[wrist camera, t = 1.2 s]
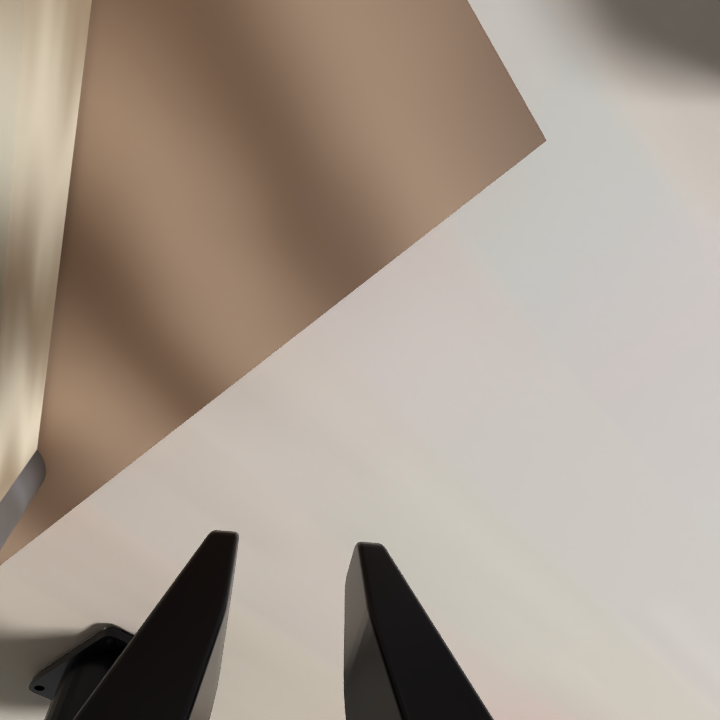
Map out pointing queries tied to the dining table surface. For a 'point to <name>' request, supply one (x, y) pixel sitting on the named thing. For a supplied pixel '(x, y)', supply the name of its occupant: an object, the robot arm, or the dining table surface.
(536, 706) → the dining table surface
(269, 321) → the stool seat
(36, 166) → the hinged leg
